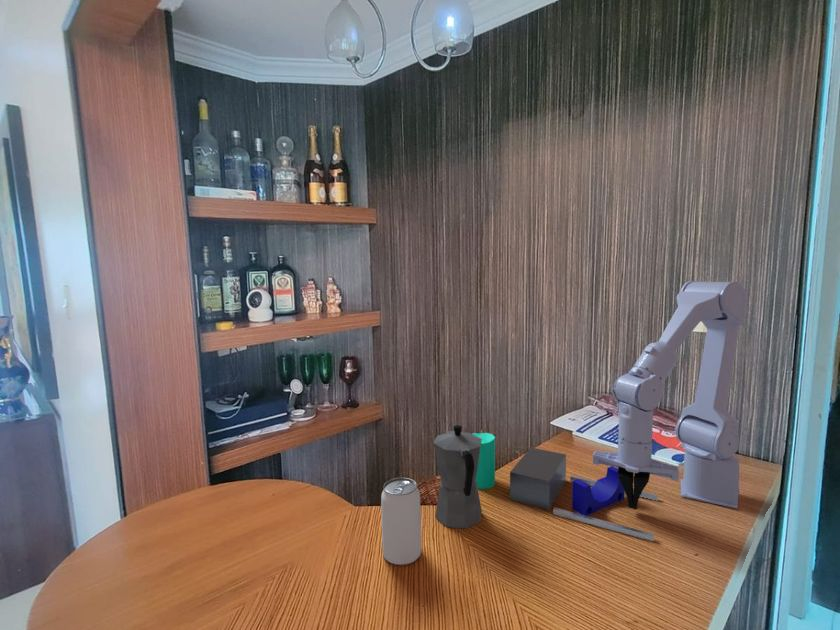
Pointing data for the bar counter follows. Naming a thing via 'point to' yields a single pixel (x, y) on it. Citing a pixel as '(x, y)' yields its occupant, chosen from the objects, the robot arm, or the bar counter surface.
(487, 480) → the candle
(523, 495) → the grey block with bars
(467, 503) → the coffeepot
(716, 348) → the robot arm
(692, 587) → the bar counter surface
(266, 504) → the bar counter surface
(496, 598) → the bar counter surface
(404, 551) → the can
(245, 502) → the bar counter surface
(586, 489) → the cable clip
